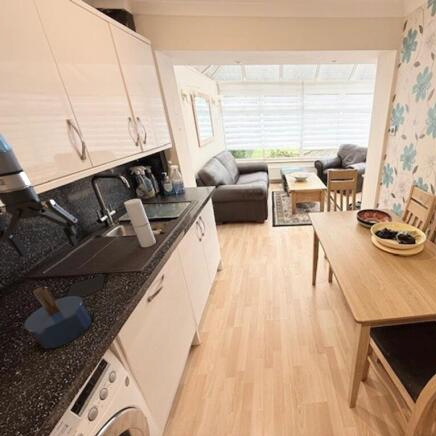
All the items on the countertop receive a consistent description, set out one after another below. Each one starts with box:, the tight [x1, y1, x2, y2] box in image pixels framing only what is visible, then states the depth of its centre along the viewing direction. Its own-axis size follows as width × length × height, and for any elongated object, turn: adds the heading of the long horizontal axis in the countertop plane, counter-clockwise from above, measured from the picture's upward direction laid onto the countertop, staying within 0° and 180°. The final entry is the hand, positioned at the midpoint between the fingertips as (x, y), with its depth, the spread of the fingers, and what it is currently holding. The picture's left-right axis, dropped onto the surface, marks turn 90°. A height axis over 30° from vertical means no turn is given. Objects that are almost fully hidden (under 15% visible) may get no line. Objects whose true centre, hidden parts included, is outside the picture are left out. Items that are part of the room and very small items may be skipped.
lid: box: [23, 285, 83, 332], centre depth 73 cm, size 14×14×10 cm
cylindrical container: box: [123, 198, 157, 248], centre depth 122 cm, size 7×7×25 cm
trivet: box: [66, 273, 106, 298], centre depth 98 cm, size 12×12×1 cm
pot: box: [30, 303, 92, 349], centre depth 77 cm, size 13×13×8 cm
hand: (50, 249), depth 79 cm, fingers open, 13 cm apart
